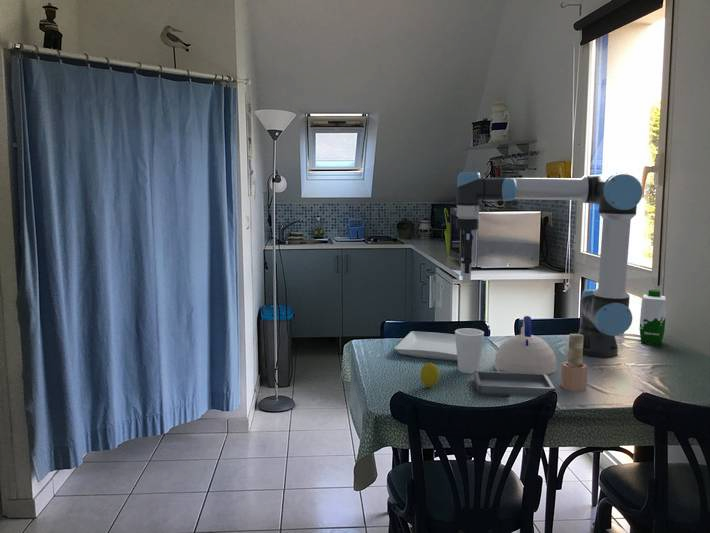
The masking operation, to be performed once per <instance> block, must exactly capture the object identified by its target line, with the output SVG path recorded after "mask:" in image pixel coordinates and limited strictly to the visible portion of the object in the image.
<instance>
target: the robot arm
mask: <svg viewBox="0 0 710 533" xmlns="http://www.w3.org/2000/svg"><path fill="white" fill-rule="evenodd" d="M643 192H644V191H643V186H642V184H641V182H640V180H639V179H638V178H637V177H635V176H634V175H633V174H630V173H626V172H609V173H603V174H602V173H601V174H592V175H583V176H582V177H581V178H576V177H575V178H572V177H571V178H569V177H568V178H566V177H565V178H564V177H561V178H559V177H558V178H557V177H556V178H555V177H554V178H553V177H551V178H550V177H549V178H548V177H542V178H541V177H489V178H484V177H481V174H480V172H474V171H473V172H468V171H466V172H464V171H462V172H459V173H458V174H457V184H456V207H454V211H455V212H456V217H457V218H456V219H455V223H456V224H455V228H456V230H459V231H461V233H462V234H460V244H461V249H460V250H461V251H460V257H461V258H460V277H462V279H461V283H465V284H471V279H472V278H471V277H472V262H473V260H472V247H473V240H474V235H473V234H472V231H477V230H478V229H479V216H480V201H495V202H500V201H502V202H509V201H510V202H511V201H514V200H538V201H539V200H544V201H545V200H548V201H549V200H551V201H553V200H555V201H556V200H558V201H562V200H563V201H580V202H581V203H583V204H594V205H598V214H599V216H600V217H602V227H601V228H602V229H601V243H600V256H599V258H600V259H599V267H598V268H599V270H598V286H597V289H594V288H593V289H591V288H590V289H584V290H583V291H582V293H581V296H580V300H581V305H580V316H579V317H580V320H579V321H580V322H579V330H578V333H577V334H581V335H583V336H584V338H583V354H582V356H586V357H587V356H588V357H594V358H595V357H597V358H611V357H612V358H613V357H615V356H617V355H618V352H619V347H618V343H617V339H616V336H620V335H622V334H624V333H625V332H626V331H628V330H629V329H630V327H631V325H632V324H633V314H632V311H631V309H630V294H629V293H628V292H627V291H626V285H627V272H628V271H627V270H628V262H629V261H628V258H629V246H630V233H631V222H632V221H631V220H632V219H633V218H634V217H635V216H636V215H637V208H638V205H639V203H640V202H641V200H642V197H643V194H644V193H643Z"/></svg>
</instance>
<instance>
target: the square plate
mask: <svg viewBox="0 0 710 533" xmlns="http://www.w3.org/2000/svg"><path fill="white" fill-rule="evenodd" d="M393 349H394V350H395V351H396V352H397V353H399V354H401V355H404V356H410V357H413V356H414V357H415V358H422V357H423V358H425V359H433V360H441V361H443V360H444V361H453V362H456V361H457V362H458V360H457V349H456V339H455V334H452V333H443V332H441V333H440V332H430V331H429V332H428V331H414V330H413V331H412V330H411V331H410V332H409V333H408V334H407V335H406V336H404V338H403V339H401V341H400V342H399V343H398V344H397V345H395V346H394V347H393ZM423 358H422V359H423Z"/></svg>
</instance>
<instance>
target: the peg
mask: <svg viewBox="0 0 710 533" xmlns="http://www.w3.org/2000/svg"><path fill="white" fill-rule="evenodd" d="M583 338H584V336H583V335H581V334H578V333H569V335H568V349H567V350H568V351H567V353H568V354H567V361H568V366H572V367H582V363H583Z"/></svg>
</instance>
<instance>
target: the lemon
mask: <svg viewBox="0 0 710 533" xmlns="http://www.w3.org/2000/svg"><path fill="white" fill-rule="evenodd" d="M439 378H440V372H439V368H438V367H437V366H436V364H434V363H432V362H431V361H429V362H428V363H425V364H424V365H423V366H422V367H421V370H420V380H421V382H422V384H423V385H424V386H426V387H427V388H429V389H431V387H433V386H435V385H437V383H438V382H439Z"/></svg>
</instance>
